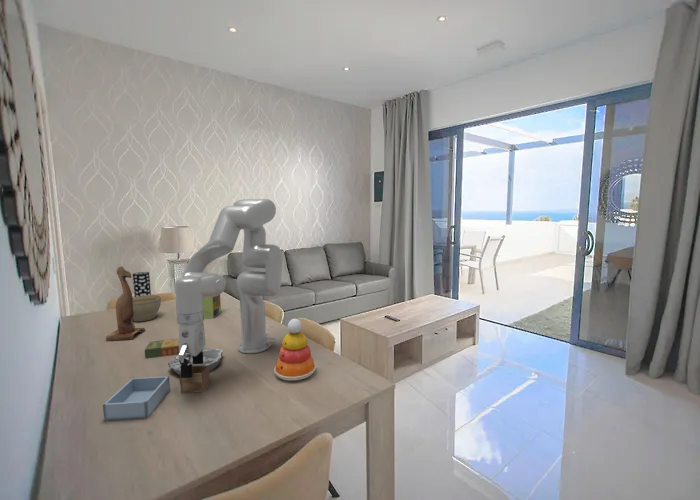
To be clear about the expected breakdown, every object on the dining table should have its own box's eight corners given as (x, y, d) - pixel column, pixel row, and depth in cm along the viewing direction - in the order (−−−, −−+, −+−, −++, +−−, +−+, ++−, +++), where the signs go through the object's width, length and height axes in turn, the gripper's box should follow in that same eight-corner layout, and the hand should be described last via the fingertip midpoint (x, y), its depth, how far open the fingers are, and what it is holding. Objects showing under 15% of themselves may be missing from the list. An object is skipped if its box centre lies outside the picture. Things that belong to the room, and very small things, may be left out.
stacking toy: (270, 368, 121) (268, 315, 118) (309, 361, 126) (308, 310, 124) (278, 387, 108) (276, 327, 105) (321, 378, 113) (320, 321, 111)
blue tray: (170, 389, 107) (169, 376, 106) (147, 417, 92) (146, 402, 92) (133, 391, 106) (131, 378, 105) (104, 420, 91) (102, 404, 91)
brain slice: (186, 355, 132) (186, 348, 132) (229, 355, 132) (229, 348, 132) (156, 380, 113) (156, 372, 113) (207, 381, 112) (206, 372, 112)
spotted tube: (131, 308, 196) (128, 274, 194) (142, 304, 205) (140, 271, 202) (144, 309, 195) (141, 274, 193) (155, 305, 203) (152, 272, 201)
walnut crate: (209, 382, 111) (208, 365, 110) (204, 391, 106) (203, 373, 105) (187, 383, 110) (186, 366, 110) (180, 392, 105) (179, 374, 104)
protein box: (213, 318, 177) (212, 289, 175) (184, 318, 177) (182, 289, 175) (221, 312, 187) (220, 285, 185) (193, 312, 187) (192, 285, 186)
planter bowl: (153, 312, 188) (152, 293, 187) (168, 317, 179) (166, 297, 178) (121, 320, 176) (119, 299, 174) (134, 326, 166) (132, 304, 165)
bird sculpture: (134, 340, 148) (131, 268, 145) (105, 341, 147) (101, 268, 143) (145, 331, 159) (142, 264, 156) (118, 332, 158) (114, 264, 154)
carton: (190, 353, 134) (190, 343, 134) (144, 359, 129) (143, 348, 129) (193, 345, 142) (192, 336, 142) (150, 351, 137) (149, 340, 137)
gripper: (193, 325, 97) (195, 382, 98) (211, 309, 114) (213, 358, 116) (165, 325, 96) (168, 384, 98) (188, 309, 113) (190, 359, 115)
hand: (192, 370), depth 107 cm, fingers open, 9 cm apart
